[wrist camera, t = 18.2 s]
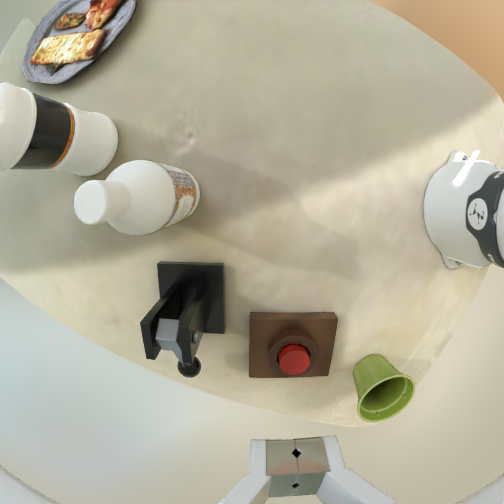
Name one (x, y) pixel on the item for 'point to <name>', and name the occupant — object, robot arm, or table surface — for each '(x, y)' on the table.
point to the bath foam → (138, 197)
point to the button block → (290, 341)
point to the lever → (175, 345)
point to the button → (294, 359)
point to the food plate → (74, 38)
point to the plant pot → (381, 389)
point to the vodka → (52, 134)
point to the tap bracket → (187, 305)
